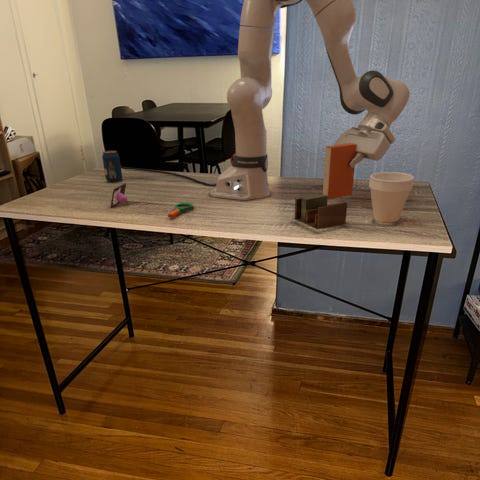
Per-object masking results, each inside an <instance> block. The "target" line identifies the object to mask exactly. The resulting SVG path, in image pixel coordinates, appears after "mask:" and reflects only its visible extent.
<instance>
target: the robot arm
mask: <svg viewBox="0 0 480 480" xmlns="http://www.w3.org/2000/svg"><path fill="white" fill-rule="evenodd" d="M304 1H305V2H306V3H307V4H308V6H309V8H310V10H311V12H312V14H313V16H314V19H315V22H316V23H317V26H318V28H319V31H320V34H321V36H322V39H323V43H324V47H325V50H326V54H327V57H328V60H329V64H330V66H331V69H332V71H333V74H334V76H335V80H336V83H337V86H338V90H339V100H340V105H341V107H342V109H343V110H344V111H345V112H346V113H348V114H350V115H355V116H356V115H360V114H362V113H363V112H365V111H367V113H366V114H365V116H364V117H363V119H362V120H361V121H360V122H359V124H358V125H357V127H355V126H352V127H351V128H347V129H346V130H345V131H343V132H342V134H340V135H339V137H338V138H337V139H336V140H335V141H334V143H333V145H340V144H348V143H352V144H357V147H356V150H355V151H356V157H355V158H354V159H353V160H350V161H349V162H348V166H349V167H351V168H353V167H354V166H356V165H357V164H359V163H360V162H362V161H363V160H364V159H366V160H372V161H374V162H375V161H376V162H377V161H379V160H381V159H383V157H384V156H385V155H386V154H387V152H388V150H389V149H390V148H391V145H392V144H393V143H394V142H395V141H396V137H395V135H394V134H393V132H392V130H391V127H392V125H393V124H394V123H395V122H396V121H398V119H399V117H400V116H402V113H403V112H404V110H405V109H406V108H407V105H408V103H409V102H410V99H411V98H410V97H411V92H410V89H409V87H408V86H407V84H406V83H405V82H403V81H402V80H399V79H396V80H395V79H391V78H388V77H386V76H384V75H383V73H381V72H380V71H378V70H368V71H366V72H364V73H363V74H361V75H360V76H358V75H357V73H356V70H355V66H354V63H353V61H352V58H351V54H350V51H349V50H350V49H349V44H350V38H351V35H352V32H353V30H354V28H355V24H356V19H357V15H356V9H355V6H354V2H353V0H304ZM301 2H303V0H243V3H242V9H241V14H240V21H239V32H238V42H237V43H238V44H237V57H238V60H239V70H240V71H239V72H240V78H237V79H235V81H233V83H232V84H231V85H230V86H229V88H228V89H227V92H226V101H227V105H228V107H229V108H230V112H231V118H232V123H233V127H234V128H233V129H234V134H235V136H234V137H235V138H234V139H235V140H234V141H235V142H234V143H235V153H234V154H233V155H232V156H231V157H230V158H229V163H230V166H228V168H227V169H225V170H224V171H223V172H222V173H221V174H220V175H219V176H218V177H217V179H216V183H213V184H212V183H207V182H204V181H201V180H197V179H195V178H193V177H190V176H187V175H183V174H180V173H176V172H170V171H163V170H157V169H147V168H138V167H131V166H130V167H129V166H124V165H123V166H122V165H121V169H126V170H127V169H128V170H134V171H135V170H136V171H143V172H145V171H146V172H151V173H152V172H153V173H161V174H168V175H173V176H177V177H181V178H185V179H188V180H191V181H193V182H196V183H198V184H201V185H205V186H208V187H215V188H213V189H212V190H210V197H213V198H221V199H231V200H236V201H238V200H239V201H250V200H255V199H262V198H266V197H269V196H270V195H271V194H272V193H271V189H270V186H269V180H268V170H269V157H268V156H269V155H268V154H267V128H266V125H265V121H264V114H263V110H264V109H265V108H266V107H267V106H268V105H269V103H270V102H271V100H272V96H273V89H272V56H273V55H272V54H273V44H274V37H275V28H276V20H277V19H276V18H277V14H278V11H279V9H284V8H285V9H286V8H288V7H292V6H295V5H298V4H300V3H301Z"/></svg>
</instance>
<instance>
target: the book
mask: <svg viewBox="0 0 480 480" xmlns="http://www.w3.org/2000/svg"><path fill="white" fill-rule="evenodd" d="M356 147H357V144H352V143H348V144H340V145H334V144H333V145H326V146H325V148H324V149H325V150H324V151H325V152H324V167H323V168H324V169H323V182H322V183H323V184H322V194H324V195H327V196H328V200H327V201H329V200H334V199H338V198H344V197H348V196H353V189H354V177H355V168H356V167H355V166H356V165H355V166H354V167H353V168H351V167H349V166H348V162H349V161H350V160H353V159H354V158H355V157H356V151H355V150H356Z"/></svg>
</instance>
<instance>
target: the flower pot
mask: <svg viewBox="0 0 480 480" xmlns="http://www.w3.org/2000/svg"><path fill="white" fill-rule="evenodd" d="M369 177H370V178H369V184H368V187H369V190H370V199H371V207H372V208H371V209H372V216H373V219H374V221H377V222H379V223H380V222H381V223H395V222H398V221H399V219H400V217H401V215H402V213H403V210H404V208H405V205H406V202H407V200H408V198H409V195H410V192H411V190H412V189H413V188H414V187H413V185H414V180H415V176H413V175H412V174H409V173H404V172H397V171H380V172H374V173H372V174H370V176H369Z"/></svg>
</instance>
